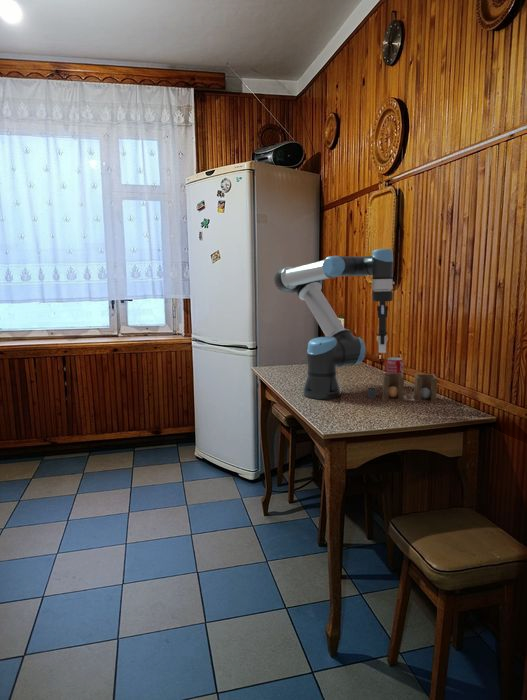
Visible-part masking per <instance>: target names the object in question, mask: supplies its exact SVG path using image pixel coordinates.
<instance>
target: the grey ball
mask: <svg viewBox="0 0 527 700" xmlns="http://www.w3.org/2000/svg"><path fill="white" fill-rule="evenodd" d="M430 396H431V391H430V390H429V389H428V388H422V394H421V398H423V399H428V398H429V397H430Z"/></svg>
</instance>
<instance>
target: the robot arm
mask: <svg viewBox="0 0 527 700" xmlns="http://www.w3.org/2000/svg"><path fill="white" fill-rule="evenodd" d="M367 276H368V277H369V276H372V279H371V284H372V285H371V290H373V291H372V297H371V298H372V301H373V302H379V303H378V304H379V305H377V309H376V311H377V318H378V333H377V334H376V337H377V336H379V343H378V353H379V354H387V343H386V335H388V331H387V318H388V311H389V306H387V303H386V302H392V301H393V300H394V299H393V297H394V293H393V291H392V290H394V289H393V288H394V287H393V285H395V281H393V278H394V254H393V250H392V249H391V248H379V249H374V250H372V255H368V256H367V255H366V256H364V255H363V256H362V255H361V256H357V255H356V256H355V255H354V256H353V255H352V256H351V255H350V256H349V255H348V256H345V255H344V256H342V255H332V256H331V255H330V256H329V255H328V256H327V257H326V258H325V259H322V260H318V261H315V262H310V263H307V264H303V265H300V266H299V265H298V266H284V267H281V268H279V269H278V270H277V271H276V272H275V274H274V277H273V282H274V285H275V287H276V288H277V289H278V290H279V291H280V292H283V293H287V294H289V293H291V294H292V293H293V294H296V295H297V297H298V298H299V299H300V300H301V301H304V302H305V303H306V306H307V307H308V308H309V310H310V312H311V314H312V315H313V317H314V318H315V320H316V322H317V324H318V325H319V327H320V329H321V331H322V332H323V334H324V335H325V336H318V337H315V338H312V339H310V340H309V341H308V344H307V350H306V351H307V376H306V379H305V383H304V386H303V388H302V395H303V396H304V397H307V398H309V399H315V400H316V399H317V400H331V399H336V398H339V397H340V396H341V388H340V385H339V381H338V379H337V368H344V367H350V366H351V367H352V366H355V365H358V364H360V363H362V362H363V360H364V358H365V356H366V350H367V349H366V348H367V347H366V343H365V342H364V340H363V339H362V338H361V337H358V336H354V335H353V332H351V330H350V329H348V328H345V327H344V325H343V324H342V322H341V320H340V319H339V317H338V316H337V314H336V313H335V311H334V309H333V307H332V306H331V304H330V302H329V301H328V299H327V298H326V296H325V295H324V293H323V292H322V287H323V286H322V285H323V280H327V279H333V278H338V277H367Z"/></svg>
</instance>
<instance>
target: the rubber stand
mask: <svg viewBox="0 0 527 700" xmlns="http://www.w3.org/2000/svg"><path fill="white" fill-rule="evenodd" d="M376 397H377V388H376V387H367V398H369V399H370V398H371V399H376Z"/></svg>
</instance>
